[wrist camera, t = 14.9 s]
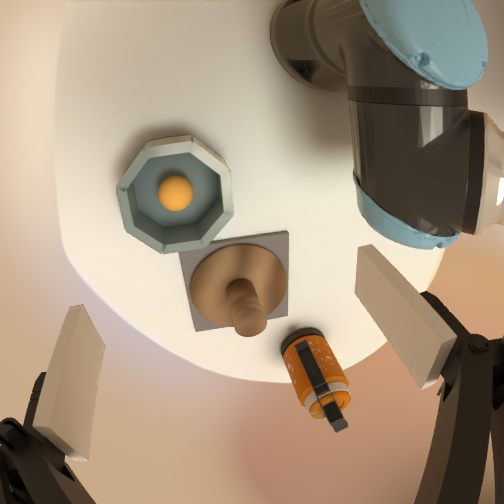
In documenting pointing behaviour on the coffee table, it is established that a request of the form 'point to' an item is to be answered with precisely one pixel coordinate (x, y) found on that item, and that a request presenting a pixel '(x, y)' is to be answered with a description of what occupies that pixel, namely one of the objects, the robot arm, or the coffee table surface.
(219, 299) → the walnut lid
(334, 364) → the canister
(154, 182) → the slate bowl
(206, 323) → the rubber mat
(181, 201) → the orange ball
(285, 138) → the coffee table surface
